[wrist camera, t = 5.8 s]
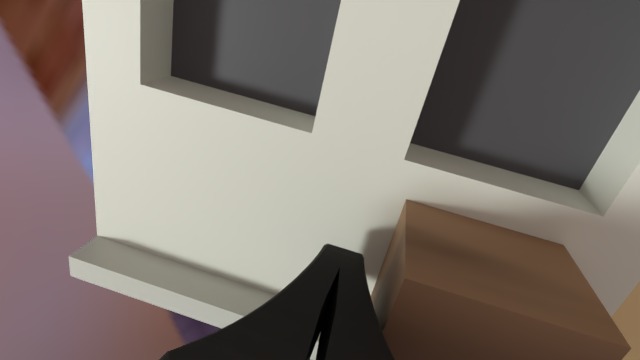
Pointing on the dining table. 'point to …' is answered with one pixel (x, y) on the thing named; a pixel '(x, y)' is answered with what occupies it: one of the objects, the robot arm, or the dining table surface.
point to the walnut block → (486, 294)
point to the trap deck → (354, 138)
